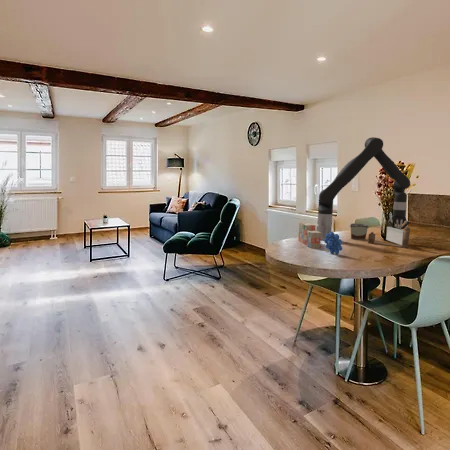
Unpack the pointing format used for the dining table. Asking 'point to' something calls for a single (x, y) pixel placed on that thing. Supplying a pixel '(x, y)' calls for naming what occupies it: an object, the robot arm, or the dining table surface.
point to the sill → (389, 244)
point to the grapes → (333, 242)
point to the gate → (395, 235)
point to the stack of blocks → (309, 235)
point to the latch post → (371, 238)
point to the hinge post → (406, 237)
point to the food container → (358, 231)
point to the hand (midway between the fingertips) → (397, 235)
